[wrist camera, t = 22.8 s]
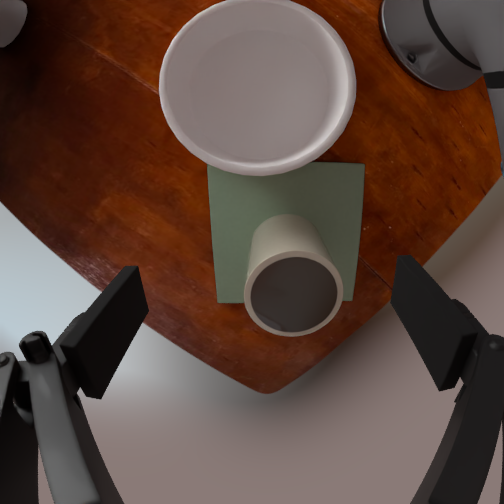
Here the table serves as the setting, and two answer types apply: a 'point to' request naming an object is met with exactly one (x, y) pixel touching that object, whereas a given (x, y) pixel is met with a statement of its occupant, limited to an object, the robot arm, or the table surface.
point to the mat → (284, 202)
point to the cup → (11, 20)
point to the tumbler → (291, 277)
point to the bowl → (257, 86)
